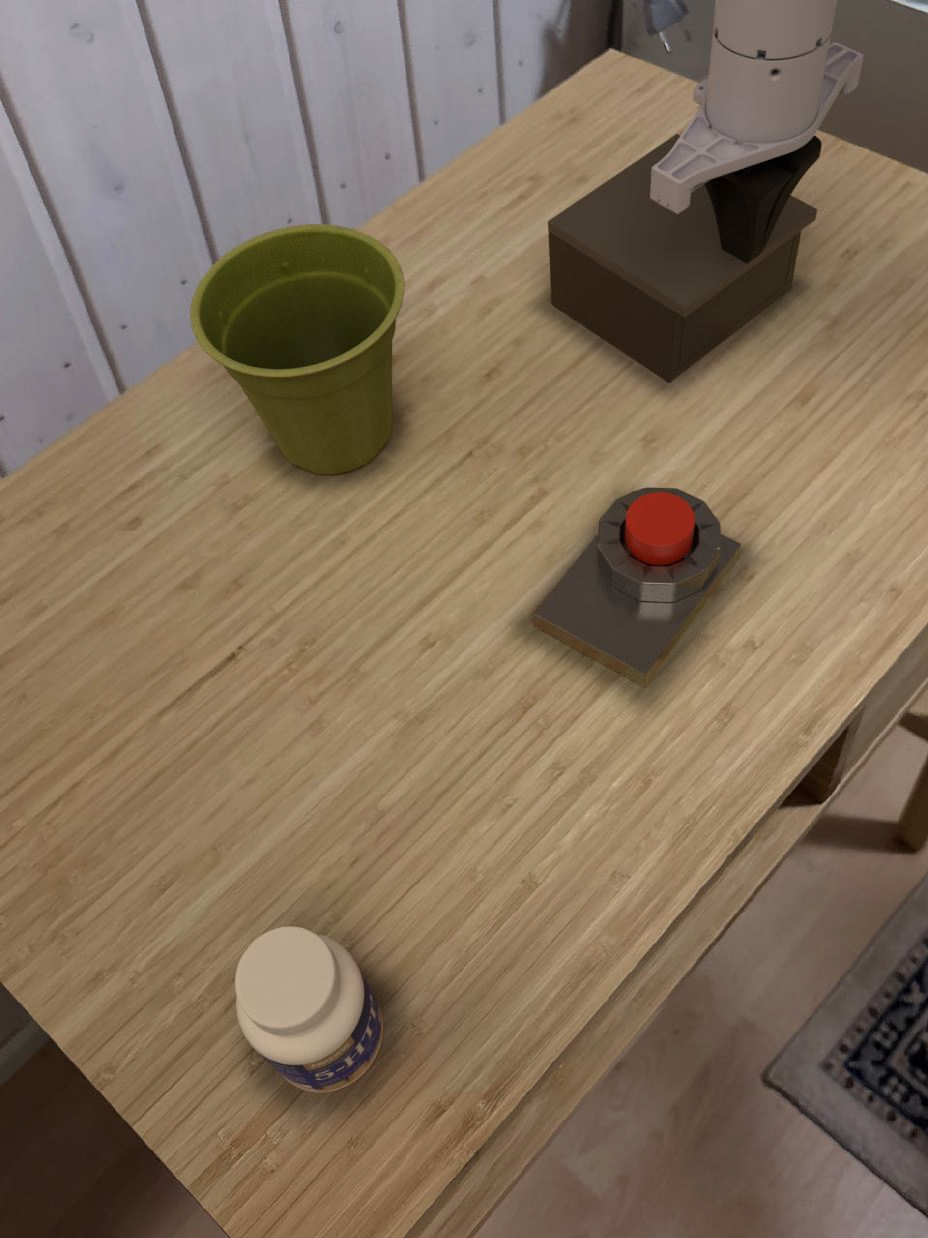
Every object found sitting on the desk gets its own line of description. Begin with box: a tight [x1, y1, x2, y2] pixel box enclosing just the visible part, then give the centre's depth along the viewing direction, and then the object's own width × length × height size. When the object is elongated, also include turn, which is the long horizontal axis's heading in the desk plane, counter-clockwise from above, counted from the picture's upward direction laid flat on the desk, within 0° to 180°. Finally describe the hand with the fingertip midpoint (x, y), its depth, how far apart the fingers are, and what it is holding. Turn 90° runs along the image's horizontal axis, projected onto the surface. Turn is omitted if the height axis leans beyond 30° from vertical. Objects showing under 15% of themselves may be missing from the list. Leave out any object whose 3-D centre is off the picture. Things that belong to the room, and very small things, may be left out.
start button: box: [625, 492, 695, 565], centre depth 61 cm, size 4×4×2 cm
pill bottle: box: [234, 925, 384, 1093], centre depth 48 cm, size 5×5×9 cm
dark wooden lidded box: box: [547, 230, 803, 383], centre depth 73 cm, size 11×12×6 cm
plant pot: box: [189, 223, 406, 475], centre depth 67 cm, size 12×12×11 cm
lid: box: [547, 133, 818, 318], centre depth 70 cm, size 11×12×1 cm
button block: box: [532, 486, 742, 688], centre depth 62 cm, size 10×7×3 cm
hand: (741, 250), depth 68 cm, fingers closed, pressing on lid
